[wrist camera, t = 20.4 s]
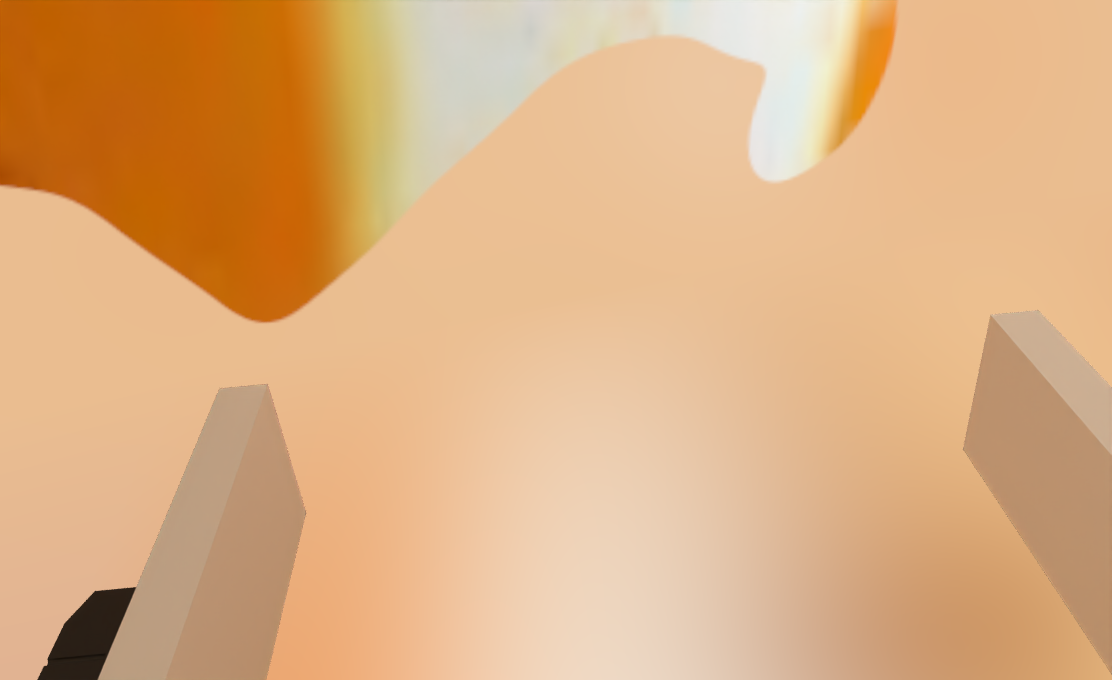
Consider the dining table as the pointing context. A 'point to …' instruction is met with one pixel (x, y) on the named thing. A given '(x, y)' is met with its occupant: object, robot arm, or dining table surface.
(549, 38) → the dining table surface
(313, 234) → the dining table surface
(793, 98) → the dining table surface
